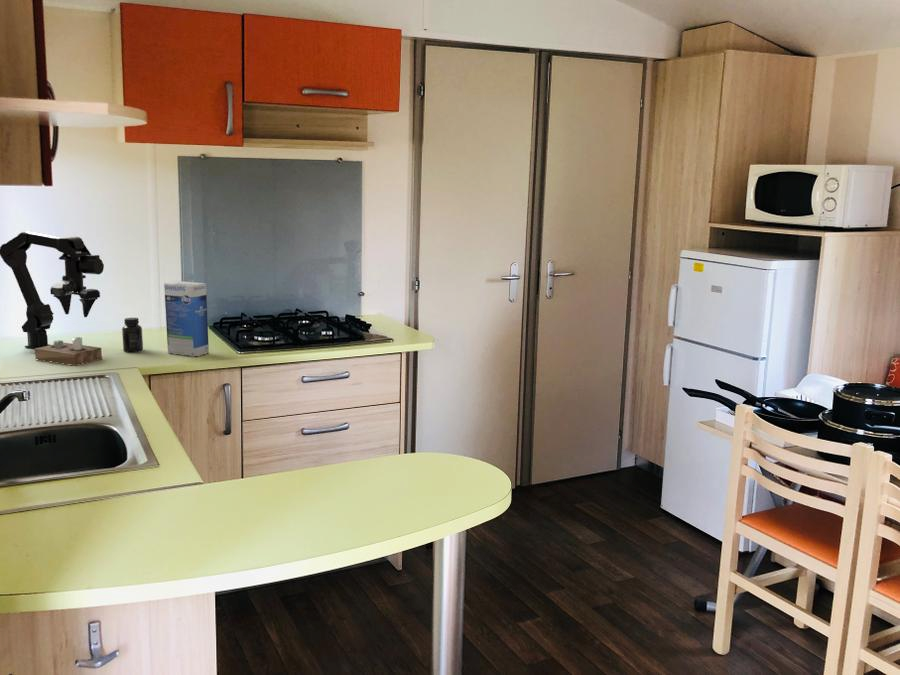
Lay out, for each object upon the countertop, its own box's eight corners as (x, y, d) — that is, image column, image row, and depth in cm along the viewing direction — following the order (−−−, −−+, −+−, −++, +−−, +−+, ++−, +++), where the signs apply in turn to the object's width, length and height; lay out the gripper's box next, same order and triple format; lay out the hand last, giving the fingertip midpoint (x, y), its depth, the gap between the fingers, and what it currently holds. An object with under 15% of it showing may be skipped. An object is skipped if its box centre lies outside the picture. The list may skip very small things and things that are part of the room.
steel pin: (72, 361, 297) (70, 338, 296) (78, 359, 300) (77, 337, 298) (78, 362, 296) (77, 339, 294) (85, 360, 299) (83, 337, 297)
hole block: (74, 365, 291) (73, 354, 290) (35, 359, 298) (34, 348, 297) (101, 358, 302) (101, 347, 301) (63, 353, 308) (62, 342, 308)
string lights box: (209, 353, 314) (207, 283, 308) (196, 357, 307) (193, 285, 302) (180, 349, 319) (177, 280, 313) (166, 353, 312) (163, 282, 306)
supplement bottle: (146, 349, 318) (144, 317, 316) (138, 353, 311) (136, 320, 309) (128, 348, 319) (126, 316, 316) (119, 352, 312) (118, 319, 310)
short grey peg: (52, 358, 301) (51, 341, 299) (59, 356, 303) (58, 340, 302) (59, 359, 299) (58, 342, 298) (66, 357, 302) (64, 340, 301)
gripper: (36, 272, 305) (39, 316, 308) (74, 277, 297) (77, 322, 300) (62, 269, 315) (64, 311, 318) (100, 274, 307) (102, 317, 310)
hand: (76, 315), depth 311 cm, fingers open, 9 cm apart
